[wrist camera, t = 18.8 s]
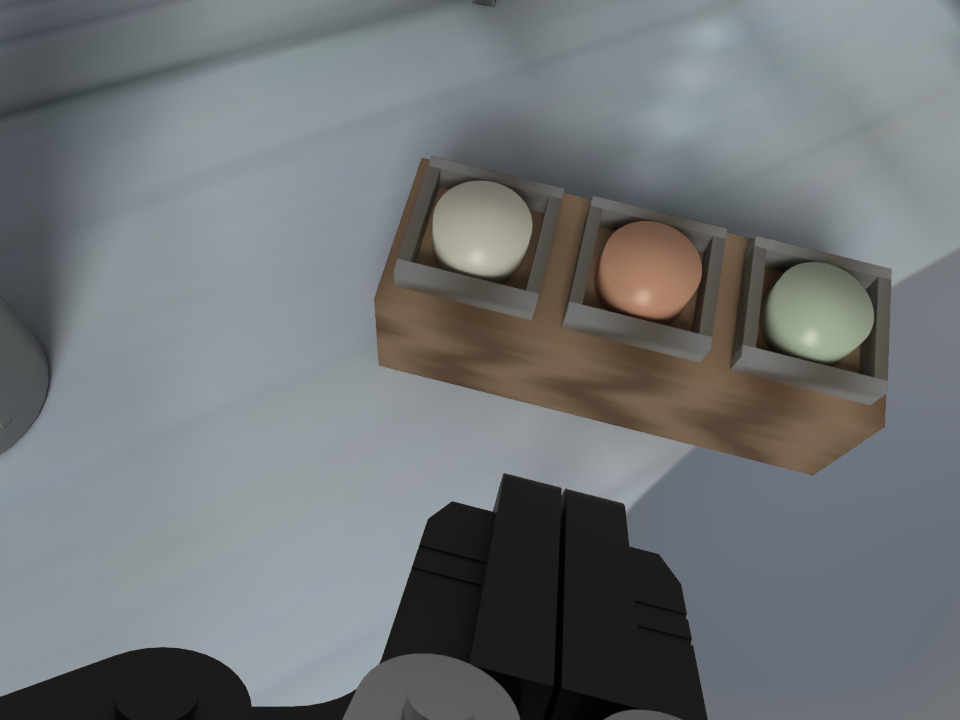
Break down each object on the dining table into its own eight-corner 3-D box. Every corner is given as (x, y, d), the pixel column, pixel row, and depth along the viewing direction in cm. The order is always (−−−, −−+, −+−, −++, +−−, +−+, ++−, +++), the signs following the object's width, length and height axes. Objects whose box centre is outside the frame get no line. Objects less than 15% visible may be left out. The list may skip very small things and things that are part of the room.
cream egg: (420, 273, 40) (421, 250, 38) (445, 195, 42) (446, 170, 40) (515, 297, 40) (520, 275, 38) (535, 218, 42) (541, 194, 40)
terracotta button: (586, 314, 40) (594, 293, 38) (602, 234, 42) (612, 211, 40) (681, 338, 40) (695, 318, 38) (694, 256, 42) (707, 234, 40)
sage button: (753, 356, 40) (770, 337, 38) (762, 273, 41) (779, 251, 40) (850, 380, 39) (871, 362, 38) (855, 296, 41) (875, 275, 40)
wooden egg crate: (379, 365, 46) (373, 282, 38) (419, 238, 50) (422, 138, 41) (813, 475, 45) (902, 415, 37) (823, 338, 49) (906, 256, 41)
